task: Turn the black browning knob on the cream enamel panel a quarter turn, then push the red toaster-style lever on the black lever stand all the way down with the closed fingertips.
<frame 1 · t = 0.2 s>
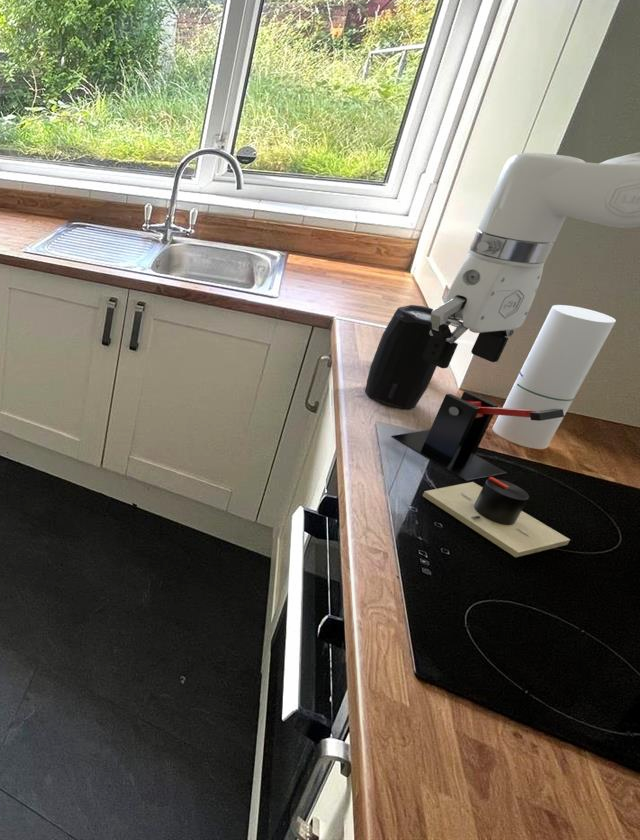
hand: (459, 360, 84), 21 cm above the countertop, tool pointing down, fingers open, 9 cm apart
black lever stand: (443, 459, 97), on the countertop
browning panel: (488, 525, 83), on the countertop
portable speaker: (387, 404, 114), on the countertop
cylindrical container: (516, 442, 103), on the countertop
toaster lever: (501, 411, 89), point 12 cm above the countertop, hinge at 28.0°
browning knob: (501, 500, 82), point 4 cm above the countertop, hinge at 0.0°
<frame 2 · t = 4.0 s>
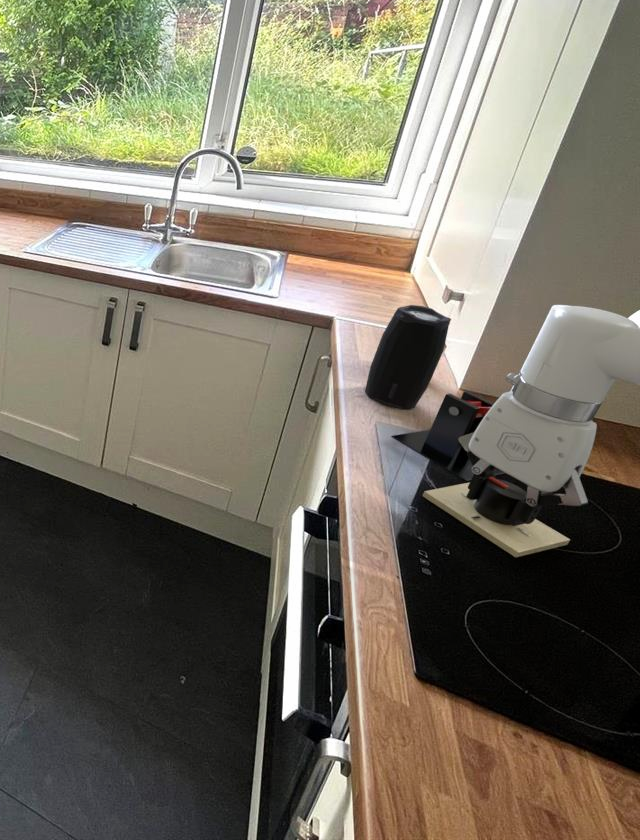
hand: (496, 508, 82), 3 cm above the countertop, tool pointing down, fingers closed on browning knob, 4 cm apart
browning knob: (501, 500, 82), point 4 cm above the countertop, hinge at -0.1°, touching gripper
everything else where it was.
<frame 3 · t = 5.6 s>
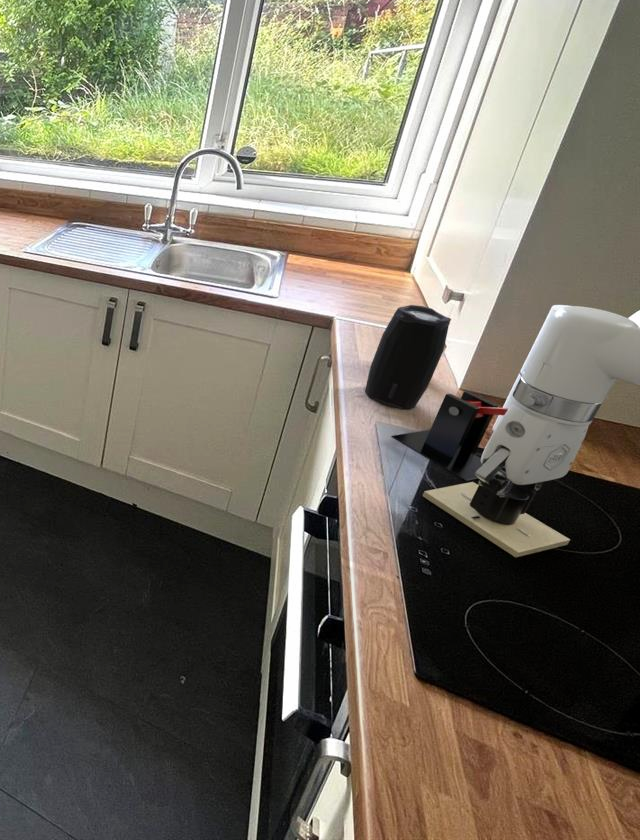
hand: (496, 509, 82), 3 cm above the countertop, tool pointing down, fingers closed on browning knob, 4 cm apart
browning knob: (501, 500, 82), point 4 cm above the countertop, hinge at 90.6°, touching gripper
everything else where it was.
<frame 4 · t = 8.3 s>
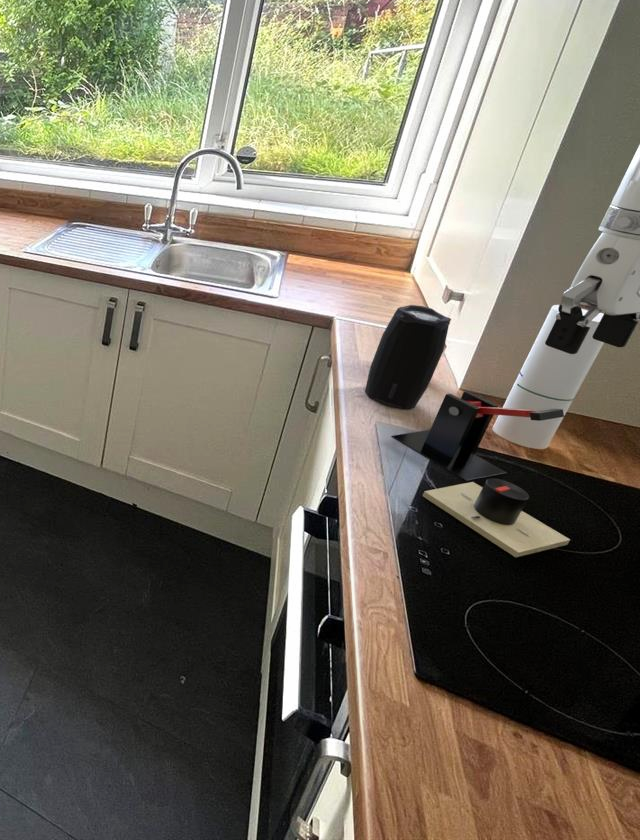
hand: (584, 346, 79), 26 cm above the countertop, tool pointing down, fingers open, 9 cm apart
browning knob: (501, 500, 82), point 4 cm above the countertop, hinge at 91.4°
everything else where it was.
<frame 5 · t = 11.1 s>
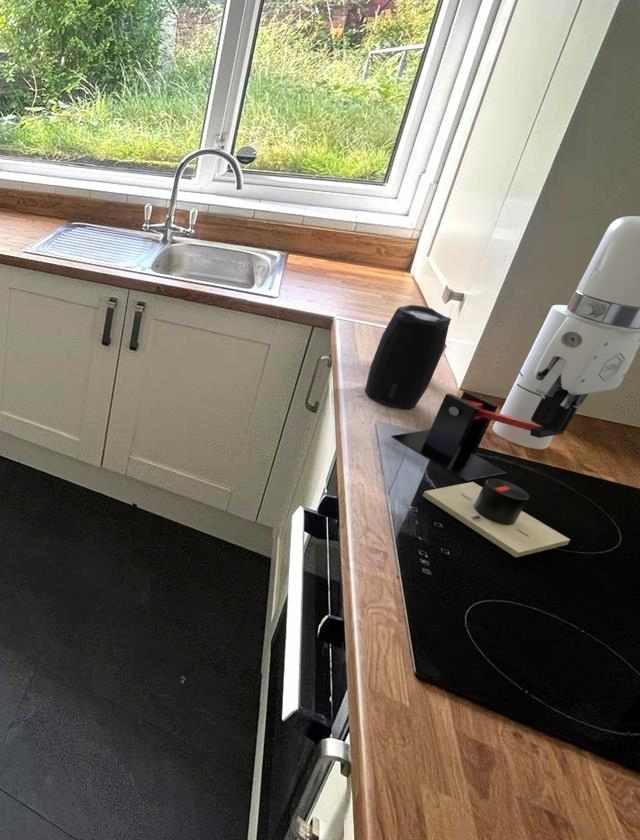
hand: (547, 425, 84), 13 cm above the countertop, tool pointing down, fingers closed
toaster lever: (501, 418, 89), point 11 cm above the countertop, hinge at 14.2°, touching gripper
everything else where it was.
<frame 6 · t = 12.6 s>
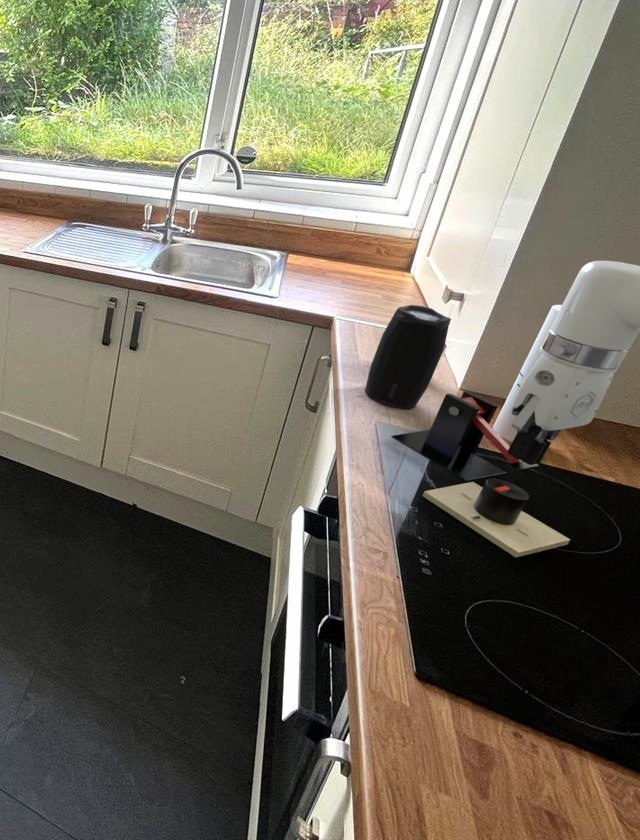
hand: (522, 458, 87), 7 cm above the countertop, tool pointing down, fingers closed
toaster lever: (491, 434, 91), point 8 cm above the countertop, hinge at -26.2°, touching gripper
everything else where it was.
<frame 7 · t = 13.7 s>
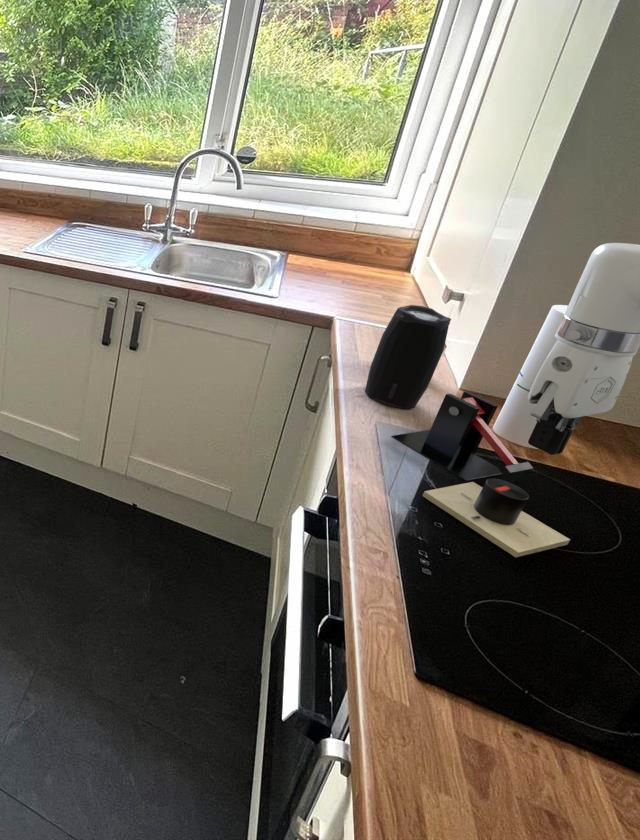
hand: (544, 448, 85), 10 cm above the countertop, tool pointing down, fingers closed
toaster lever: (488, 435, 91), point 8 cm above the countertop, hinge at -30.9°
everything else where it was.
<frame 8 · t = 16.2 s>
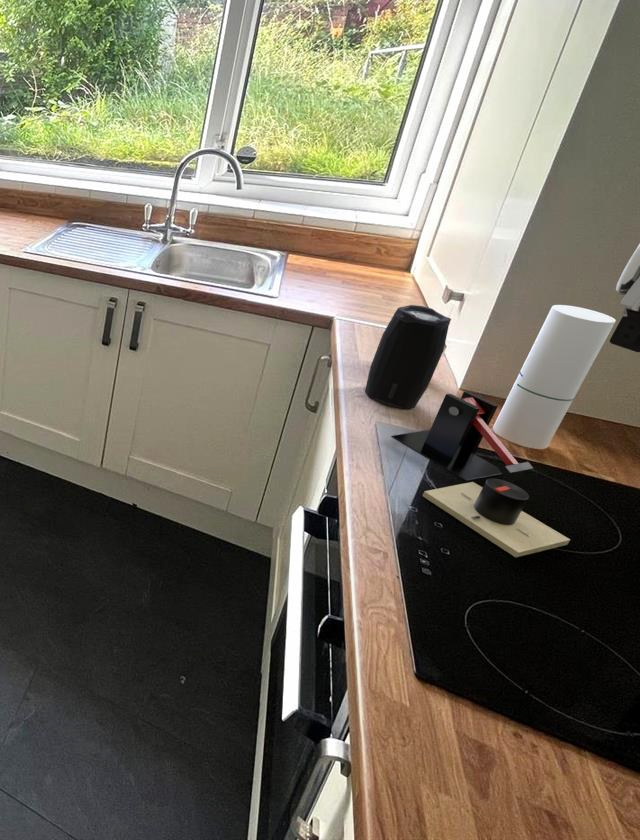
hand: (628, 347, 77), 27 cm above the countertop, tool pointing down, fingers closed
nothing on the countertop moved.
at the end: browning knob at +91° (first picture: +0°); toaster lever at -31° (first picture: +28°) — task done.
